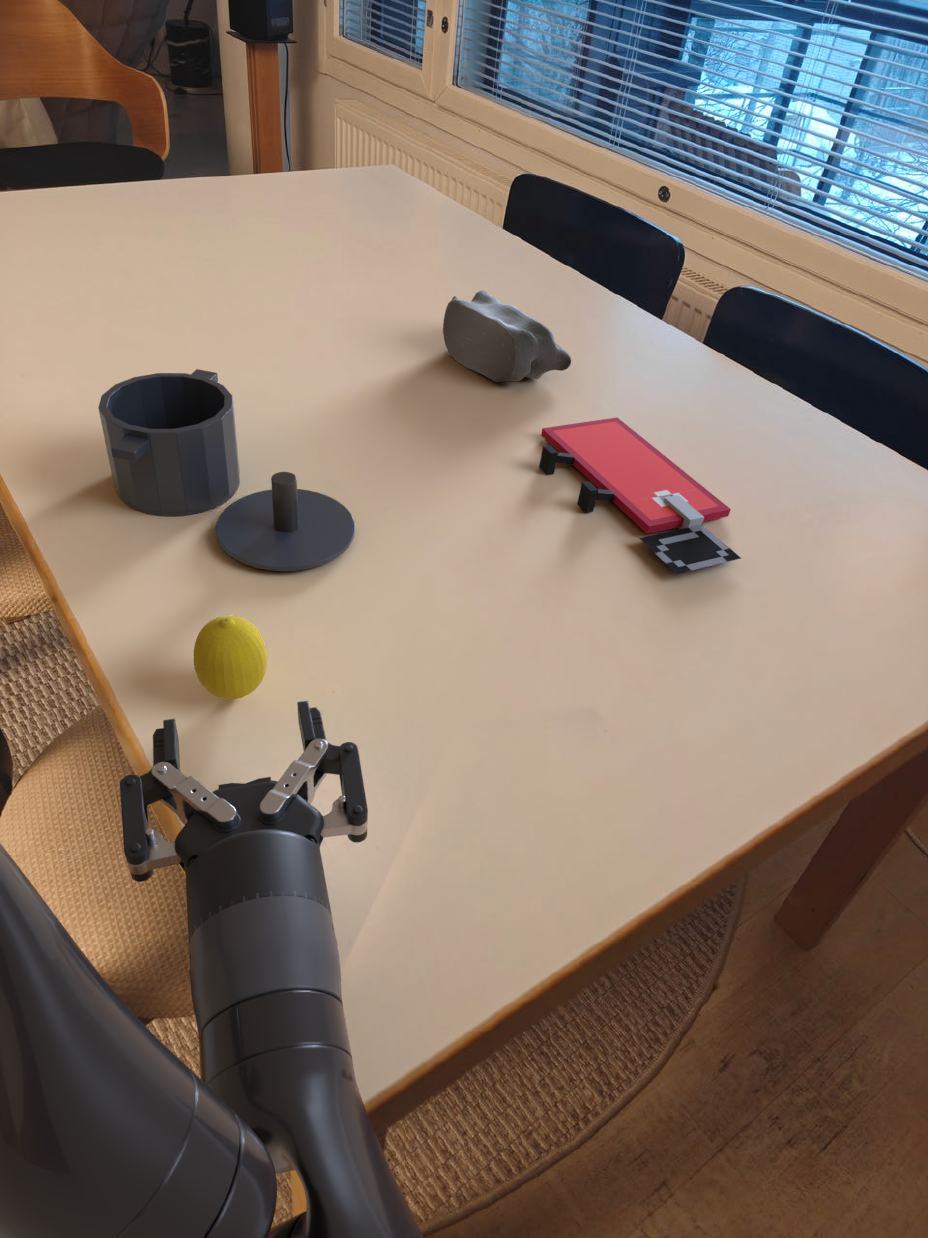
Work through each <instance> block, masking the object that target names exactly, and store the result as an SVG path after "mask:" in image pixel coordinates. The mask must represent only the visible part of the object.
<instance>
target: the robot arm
mask: <svg viewBox="0 0 928 1238" xmlns="http://www.w3.org/2000/svg"><path fill="white" fill-rule="evenodd" d="M296 706H297V720H298V728H299V733H300V739H301V743H302V748H303V752H302V754H301V755H300V756H299V757H298V759H294V760H292V762H291V763H290V764H289V766H288V767H287V769H286V770H285V771H284V773H283V774H282V775H281V777H280V778H279V780H272V777H271V776H267V777H261V778H256V779H253V780H251V781H248V782H245V783H243V782H242V783H241V782H240V783H239V782H228V783H222V784H218V788H217V789H215V790H213V791H211V790H210V789H209V788H207V787H206V786H205V785H204V784H202V783H201V782H200V781H198V780H197V779H196V778H194V777H193V776H191V775H189V776H186V775H185V774H184V773H183V772H181V762H180V761H181V760H180V741H179V733H178V727H177V723H176V722H177V721H176V719H175V718H169V719H163V720H162V721H163V727H162V728H155V730H154V732H153V734H152V760H153V761H152V762H153V764H152V767H151V769H150V770H149V771H148V772H146V773H144V774H142V775H140V776H139V775H137V774H134V773H133V774H128V775H126V776H124V777H123V778H121V780H120V782H119V794H120V795H119V796H120V807H121V808H120V810H121V811H120V812H121V824H122V826H121V827H122V838H123V839H122V840H123V852H124V857H125V859H126V864H127V866H128V871H129V873H130V876H131V879H132V880H133V881H135V882H138V883H142V882H145V881H148V880H149V879H151V877H152V876H153V874H154V870H158V869H162V868H166V867H170V866H175V865H179V866H180V867H181V869H183V870H184V872H185V873H184V874H185V891H186V892H185V893H186V912H187V913H186V915H187V916H186V918H187V937H188V939H187V940H188V950H189V951H188V953H189V954H188V955H189V978H190V979H189V980H190V991H191V992H190V993H191V1001H192V1007H193V1013H194V1018H195V1022H196V1027H197V1036H198V1052H199V1054H198V1055H199V1071H200V1073H199V1074H200V1077H199V1076H198V1075H197V1074H196V1072H194V1071H193V1070H192V1069H190V1067H189V1066H187V1064H185V1063H184V1062H183V1060H181V1059H180V1058H179V1057H177V1055H176V1054H174V1053H173V1052H172V1051H171V1050H170V1049H169V1048H168V1047H167V1046H166V1045H165V1044H164V1043H163V1042H162V1041H160V1040H159V1039H158V1038H157V1037H156V1036H155V1035H154V1034H153V1032H152V1031H151V1030H150V1029H149V1028H148V1027H147V1026H146V1025H145V1024H144V1023H143V1022H142V1021H141V1020H140V1019H139V1018H138V1016H137V1015H136V1014H134V1012H132V1010H131V1009H130V1008H129V1007H128V1006H127V1005H126V1003H125V1002H124V1001H123V1000H122V999H121V998H120V996H119V995H118V994H117V993H116V992H115V990H114V989H113V988H112V987H111V986H110V985H109V983H108V982H107V981H106V980H105V979H104V978H103V976H102V975H101V974H100V972H99V971H98V970H97V968H96V967H95V966H94V964H93V963H92V962H91V960H90V959H89V958H88V957H87V956H86V955H85V953H84V951H82V949H81V948H80V946H79V945H78V944H77V942H76V941H75V940H74V938H73V937H72V936H71V934H70V933H69V932H68V930H67V929H66V928H65V926H64V925H63V924H62V922H61V921H60V919H58V917H57V916H56V914H55V913H54V912H53V911H52V908H50V906H49V905H48V903H46V901H45V900H44V898H43V897H42V895H41V894H40V893H39V891H38V890H37V889H36V887H35V886H34V885H33V884H32V882H31V881H30V880H29V878H28V877H27V876H26V874H25V873H24V871H23V870H22V868H20V866H19V865H18V864H17V862H16V861H15V860H14V859H13V857H12V855H10V853H9V852H8V851H7V850H6V849H5V847H4V846H3V845H2V844H1V842H0V1238H424V1234H423V1232H422V1230H421V1228H420V1226H419V1224H418V1222H417V1219H416V1218H415V1216H414V1214H413V1211H412V1210H411V1208H410V1206H409V1203H408V1202H407V1200H406V1198H405V1196H404V1194H403V1192H402V1190H401V1188H400V1186H399V1184H398V1182H397V1179H396V1177H395V1175H394V1173H393V1171H392V1168H391V1167H390V1165H389V1162H388V1160H387V1158H386V1155H385V1153H384V1150H383V1148H382V1146H381V1143H380V1141H379V1138H378V1136H377V1133H376V1131H375V1129H374V1126H373V1124H372V1122H371V1119H370V1117H369V1114H368V1112H367V1109H366V1107H365V1103H364V1101H363V1098H362V1095H361V1092H360V1088H359V1085H358V1083H357V1079H356V1073H355V1067H354V1061H353V1053H352V1050H351V1044H350V1037H349V1033H348V1032H349V1031H348V1026H347V1020H346V1016H345V1009H344V1004H343V994H342V969H341V960H340V953H339V948H338V940H337V936H336V930H335V927H334V921H333V914H332V913H333V912H332V909H331V903H330V897H329V892H328V886H327V881H326V875H325V870H324V864H323V859H322V852H321V845H322V843H323V840H324V838H331V837H339V836H347V838H348V839H349V841H351V842H352V843H355V844H357V843H363V842H364V841H365V840H366V839H367V837H368V822H369V821H368V818H369V808H368V803H367V802H368V801H367V796H366V789H365V783H364V778H363V771H362V765H361V758H360V753H359V747H358V745H357V744H356V743H354V742H351V741H346V742H343V743H341V744H340V745H336V744H332V743H330V742H328V740H327V738H326V737H327V736H326V731H325V728H324V724H323V718H322V713H321V710H319V708H318V707H317V706H314V707H310V705H309V700H302V701H297V705H296ZM327 775H338V776H339V782H340V783H339V785H340V789H341V791H340V792H341V795H340V796H338V798H337V799H335V800H334V801H333V803H332V806H331V811H330V812H328V813H327V814H325V815H323V814H322V813H321V812H320V811H319V810H318V809H317V808H316V807H315V806H313V805H312V803H313V801H314V798H315V794H316V792H317V790H318V788H319V787H320V786H321V784H322V782H323V781H324V779H325V778H326V776H327ZM158 801H160V802H161V803H162V804H164V806H166V807H167V808H168V809H169V810H171V811H172V812H173V813H174V814H175V815H176V816H177V817H178V819H179V820H180V822H181V823H182V824H183V825H184V826H183V827H182V828H181V830H180V831H179V832H178V833H177V834H176V837H175V839H174V841H168V840H166V839H165V838H164V837H163V834H162V832H161V831H159V830H157V829H154V828H153V827H150V819H149V818H150V817H149V810H148V808H149V807H148V806H151V804H154V803H157V802H158ZM292 1171H295V1172H296V1174H297V1176H298V1179H299V1180H300V1183H301V1185H302V1187H303V1191H304V1196H305V1201H306V1202H305V1205H306V1207H305V1209H306V1210H305V1211H302V1212H301V1213H299V1214H296V1215H295V1216H293V1217H291V1218H289V1219H287V1220H285V1221H283V1222H280V1223H279V1224H276V1225H275V1226H273V1222H274V1218H275V1215H276V1209H277V1204H278V1203H277V1202H278V1179H277V1175H278V1174H283V1173H287V1172H292ZM272 1226H273V1227H272Z"/></svg>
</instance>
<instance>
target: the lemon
mask: <svg viewBox="0 0 928 1238" xmlns="http://www.w3.org/2000/svg"><path fill="white" fill-rule="evenodd" d="M193 666H194V668H193V669H194V671H195V673H196V676H197V679H198V680H199V682H200V684H201V686H203V688H204V689H205V690H206V691H207V692H209V693H210V694H212V695H213V696H215V697H217V698H220V699H226V700H237V699H240V698H244V697H246V696H248V695H250V694H251V693H252V692H254V691H256V689H257V688H258V687H259V686H260V685H261V684H262V682H263V680H264V677H265V676H266V673H267V667H268V652H267V648H266V644H265V640H264V638H263V636H262V634H261V632H260V631H259V629H258V628H257V627H256V626H255V624H253V623H252V622H251V621H250V620H248V619H246V618H244V617H241V616H237V615H230V614H229V615H228V614H227V615H221V616H218V617H215V618H213V619H211V620H210V621H208V622H207V623H206V624H205V625H203V626H202V628H201V629H200V630H199V632H198V634H197V636H196V639H195V642H194V646H193Z"/></svg>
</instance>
